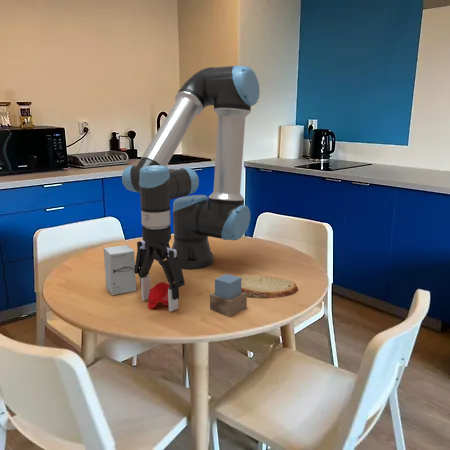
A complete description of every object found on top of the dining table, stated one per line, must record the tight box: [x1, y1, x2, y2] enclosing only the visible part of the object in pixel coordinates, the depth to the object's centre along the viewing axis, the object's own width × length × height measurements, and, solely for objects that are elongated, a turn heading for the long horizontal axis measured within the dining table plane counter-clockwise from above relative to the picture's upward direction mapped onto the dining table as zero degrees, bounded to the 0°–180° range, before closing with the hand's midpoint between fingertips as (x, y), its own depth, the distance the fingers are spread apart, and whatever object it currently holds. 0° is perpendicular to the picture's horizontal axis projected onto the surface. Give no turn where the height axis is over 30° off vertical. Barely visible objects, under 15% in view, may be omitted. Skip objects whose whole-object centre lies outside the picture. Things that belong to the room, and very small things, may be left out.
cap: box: [147, 281, 170, 310], centre depth 124 cm, size 8×6×6 cm
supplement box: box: [103, 244, 137, 296], centre depth 133 cm, size 7×7×13 cm
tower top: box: [214, 273, 241, 300], centre depth 120 cm, size 5×5×4 cm
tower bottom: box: [209, 292, 248, 318], centre depth 121 cm, size 7×7×4 cm
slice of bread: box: [235, 273, 299, 299], centre depth 135 cm, size 18×18×4 cm
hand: (159, 304), depth 124 cm, fingers open, 10 cm apart
